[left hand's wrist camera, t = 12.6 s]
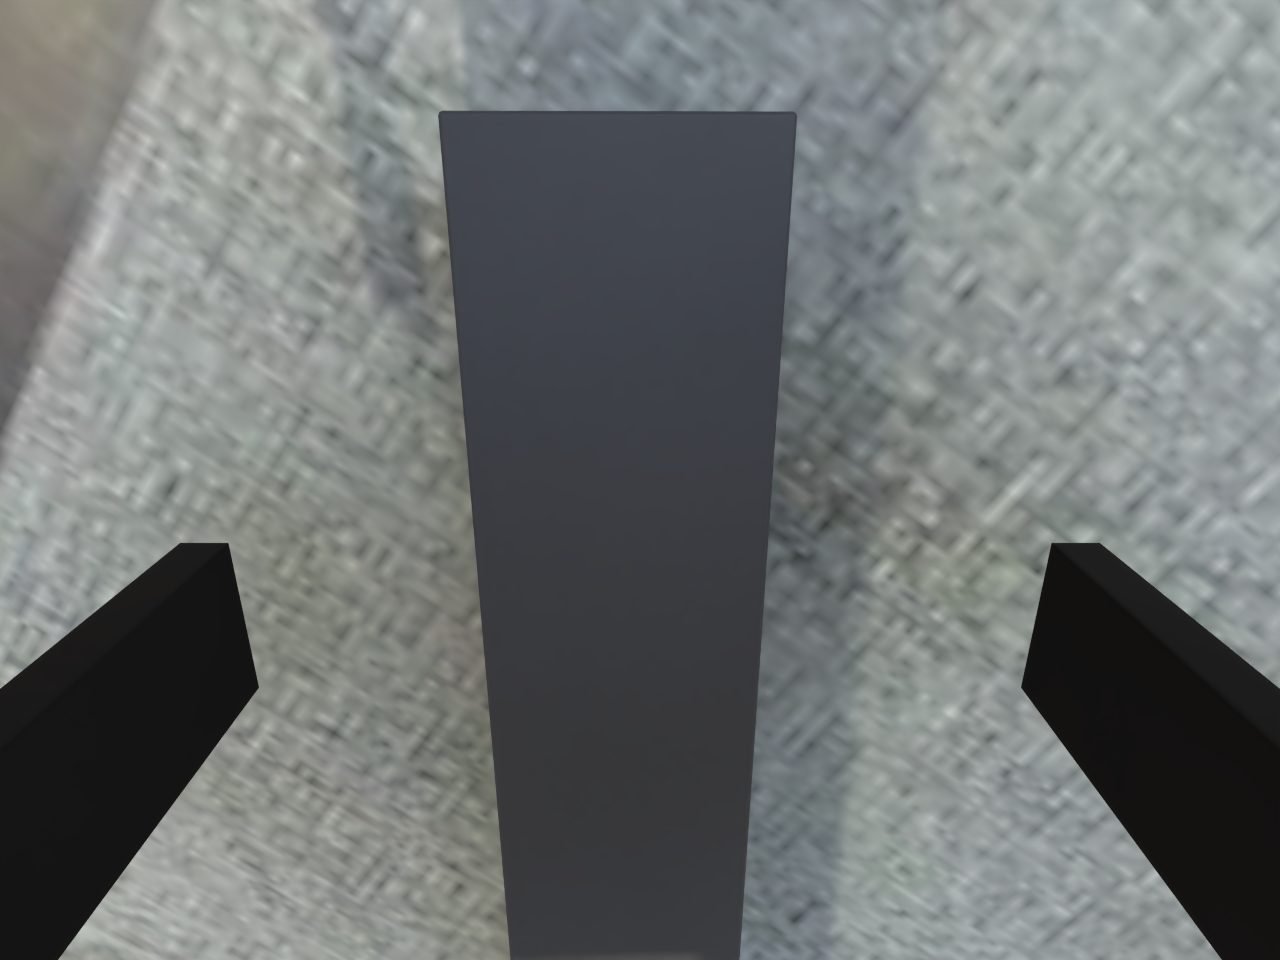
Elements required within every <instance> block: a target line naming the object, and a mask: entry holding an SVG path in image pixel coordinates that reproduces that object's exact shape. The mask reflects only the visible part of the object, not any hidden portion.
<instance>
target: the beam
mask: <svg viewBox="0 0 1280 960" xmlns="http://www.w3.org/2000/svg"><path fill="white" fill-rule="evenodd" d="M438 118H439V129H440V141H441V153H442V164H443V176H444V188H445V199H446V211H447V223H448V234H449V246H450V258H451V269H452V281H453V293H454V304H455V316H456V328H457V339H458V351H459V363H460V374H461V386H462V398H463V409H464V421H465V433H466V444H467V456H468V468H469V479H470V491H471V503H472V514H473V526H474V538H475V549H476V561H477V572H478V584H479V596H480V607H481V619H482V631H483V642H484V654H485V666H486V677H487V689H488V701H489V712H490V724H491V736H492V747H493V759H494V771H495V782H496V794H497V806H498V817H499V829H500V841H501V852H502V864H503V876H504V887H505V899H506V911H507V922H508V934H509V946H510V957H511V960H739V957H740V943H741V928H742V913H743V899H744V884H745V870H746V855H747V840H748V826H749V811H750V797H751V782H752V767H753V753H754V738H755V723H756V709H757V694H758V680H759V665H760V650H761V636H762V621H763V606H764V592H765V577H766V563H767V548H768V533H769V519H770V504H771V490H772V475H773V460H774V446H775V431H776V416H777V402H778V387H779V373H780V358H781V343H782V329H783V314H784V300H785V285H786V270H787V256H788V241H789V226H790V212H791V197H792V183H793V168H794V153H795V139H796V124H797V115H796V113H795V112H708V111H441V112H439V115H438Z"/></svg>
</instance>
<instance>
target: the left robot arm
mask: <svg viewBox="0 0 1280 960" xmlns="http://www.w3.org/2000/svg"><path fill="white" fill-rule="evenodd" d="M258 688H259V686H258V681H257V676H256V672H255V667H254V662H253V657H252V653H251V648H250V643H249V638H248V634H247V629H246V624H245V620H244V615H243V610H242V605H241V601H240V596H239V591H238V587H237V582H236V577H235V572H234V568H233V563H232V558H231V553H230V549H229V544H228V543H180V544H178V545H177V546H176V547H175V548H174V549H172V550H171V551H170V552H169V553H167V554H166V555H165V556H164V557H162V558H161V559H160V560H159V561H158V562H156V563H155V564H154V565H153V566H151V567H150V568H149V569H148V570H146V571H145V572H144V573H143V574H141V575H140V576H139V577H138V578H137V579H135V580H134V581H133V582H132V583H130V584H129V585H128V586H127V587H125V588H124V589H123V590H122V591H120V592H119V593H118V594H117V595H116V596H114V597H113V598H112V599H111V600H109V601H108V602H107V603H106V604H104V605H103V606H102V607H101V608H99V609H98V610H97V611H96V612H95V613H93V614H92V615H91V616H90V617H88V618H87V619H86V620H85V621H83V622H82V623H81V624H80V625H78V626H77V627H76V628H75V629H74V630H72V631H71V632H70V633H69V634H67V635H66V636H65V637H64V638H62V639H61V640H60V641H59V642H57V643H56V644H55V645H54V646H53V647H51V648H50V649H49V650H48V651H46V652H45V653H44V654H43V655H41V656H40V657H39V658H38V659H36V660H35V661H34V662H33V663H32V664H30V665H29V666H28V667H27V668H25V669H24V670H23V671H22V672H20V673H19V674H18V675H17V676H16V677H14V678H13V679H12V680H11V681H9V682H8V683H7V684H6V685H4V686H3V687H2V688H1V689H0V960H58V959H59V958H60V956H61V955H62V954H63V952H64V951H65V950H66V948H67V947H68V946H69V944H70V943H71V941H72V940H73V939H74V937H75V936H76V935H77V933H78V932H79V931H80V929H81V928H82V927H83V925H84V924H85V923H86V921H87V920H88V918H89V917H90V916H91V914H92V913H93V912H94V910H95V909H96V908H97V906H98V905H99V904H100V902H101V901H102V899H103V898H104V897H105V895H106V894H107V893H108V891H109V890H110V889H111V887H112V886H113V885H114V883H115V882H116V880H117V879H118V878H119V876H120V875H121V874H122V872H123V871H124V870H125V868H126V867H127V866H128V864H129V863H130V861H131V860H132V859H133V857H134V856H135V855H136V853H137V852H138V851H139V849H140V848H141V847H142V845H143V844H144V843H145V841H146V840H147V838H148V837H149V836H150V834H151V833H152V832H153V830H154V829H155V828H156V826H157V825H158V824H159V822H160V821H161V819H162V818H163V817H164V815H165V814H166V813H167V811H168V810H169V809H170V807H171V806H172V805H173V803H174V802H175V800H176V799H177V798H178V796H179V795H180V794H181V792H182V791H183V790H184V788H185V787H186V786H187V784H188V783H189V782H190V780H191V779H192V777H193V776H194V775H195V773H196V772H197V771H198V769H199V768H200V767H201V765H202V764H203V763H204V761H205V760H206V758H207V757H208V756H209V754H210V753H211V752H212V750H213V749H214V748H215V746H216V745H217V744H218V742H219V741H220V739H221V738H222V737H223V735H224V734H225V733H226V731H227V730H228V729H229V727H230V726H231V725H232V723H233V722H234V720H235V719H236V718H237V716H238V715H239V714H240V712H241V711H242V710H243V708H244V707H245V706H246V704H247V703H248V702H249V700H250V699H251V697H252V696H253V695H254V693H255V692H256V691H257V689H258ZM1021 688H1022V689H1023V691H1024V692H1025V693H1026V695H1027V696H1028V697H1029V699H1030V700H1031V702H1032V703H1033V704H1034V706H1035V707H1036V708H1037V710H1038V711H1039V712H1040V714H1041V715H1042V716H1043V718H1044V719H1045V720H1046V722H1047V723H1048V725H1049V726H1050V727H1051V729H1052V730H1053V731H1054V733H1055V734H1056V735H1057V737H1058V738H1059V739H1060V741H1061V742H1062V744H1063V745H1064V746H1065V748H1066V749H1067V750H1068V752H1069V753H1070V754H1071V756H1072V757H1073V758H1074V760H1075V761H1076V763H1077V764H1078V765H1079V767H1080V768H1081V769H1082V771H1083V772H1084V773H1085V775H1086V776H1087V777H1088V779H1089V780H1090V782H1091V783H1092V784H1093V786H1094V787H1095V788H1096V790H1097V791H1098V792H1099V794H1100V795H1101V796H1102V798H1103V799H1104V800H1105V802H1106V803H1107V805H1108V806H1109V807H1110V809H1111V810H1112V811H1113V813H1114V814H1115V815H1116V817H1117V818H1118V819H1119V821H1120V822H1121V824H1122V825H1123V826H1124V828H1125V829H1126V830H1127V832H1128V833H1129V834H1130V836H1131V837H1132V838H1133V840H1134V841H1135V843H1136V844H1137V845H1138V847H1139V848H1140V849H1141V851H1142V852H1143V853H1144V855H1145V856H1146V857H1147V859H1148V860H1149V861H1150V863H1151V864H1152V866H1153V867H1154V868H1155V870H1156V871H1157V872H1158V874H1159V875H1160V876H1161V878H1162V879H1163V880H1164V882H1165V883H1166V885H1167V886H1168V887H1169V889H1170V890H1171V891H1172V893H1173V894H1174V895H1175V897H1176V898H1177V899H1178V901H1179V902H1180V904H1181V905H1182V906H1183V908H1184V909H1185V910H1186V912H1187V913H1188V914H1189V916H1190V917H1191V918H1192V920H1193V921H1194V923H1195V924H1196V925H1197V927H1198V928H1199V929H1200V931H1201V932H1202V933H1203V935H1204V936H1205V937H1206V939H1207V940H1208V941H1209V943H1210V944H1211V946H1212V947H1213V948H1214V950H1215V951H1216V952H1217V954H1218V955H1219V956H1220V958H1221V959H1222V960H1280V689H1279V688H1278V687H1277V686H1276V685H1274V684H1273V683H1272V682H1271V681H1269V680H1268V679H1267V678H1266V677H1264V676H1263V675H1262V674H1261V673H1260V672H1258V671H1257V670H1256V669H1255V668H1253V667H1252V666H1251V665H1250V664H1248V663H1247V662H1246V661H1245V660H1244V659H1242V658H1241V657H1240V656H1239V655H1237V654H1236V653H1235V652H1234V651H1232V650H1231V649H1230V648H1229V647H1227V646H1226V645H1225V644H1224V643H1223V642H1221V641H1220V640H1219V639H1218V638H1216V637H1215V636H1214V635H1213V634H1211V633H1210V632H1209V631H1208V630H1206V629H1205V628H1204V627H1203V626H1202V625H1200V624H1199V623H1198V622H1197V621H1195V620H1194V619H1193V618H1192V617H1190V616H1189V615H1188V614H1187V613H1185V612H1184V611H1183V610H1182V609H1181V608H1179V607H1178V606H1177V605H1176V604H1174V603H1173V602H1172V601H1171V600H1169V599H1168V598H1167V597H1166V596H1164V595H1163V594H1162V593H1161V592H1160V591H1158V590H1157V589H1156V588H1155V587H1153V586H1152V585H1151V584H1150V583H1148V582H1147V581H1146V580H1145V579H1143V578H1142V577H1141V576H1140V575H1139V574H1137V573H1136V572H1135V571H1134V570H1132V569H1131V568H1130V567H1129V566H1127V565H1126V564H1125V563H1124V562H1122V561H1121V560H1120V559H1119V558H1118V557H1116V556H1115V555H1114V554H1113V553H1111V552H1110V551H1109V550H1108V549H1106V548H1105V547H1104V546H1103V545H1102V544H1100V543H1052V544H1051V549H1050V553H1049V558H1048V563H1047V568H1046V572H1045V577H1044V582H1043V587H1042V591H1041V596H1040V601H1039V605H1038V610H1037V615H1036V620H1035V624H1034V629H1033V634H1032V638H1031V643H1030V648H1029V653H1028V657H1027V662H1026V667H1025V672H1024V676H1023V681H1022V686H1021Z"/></svg>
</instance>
